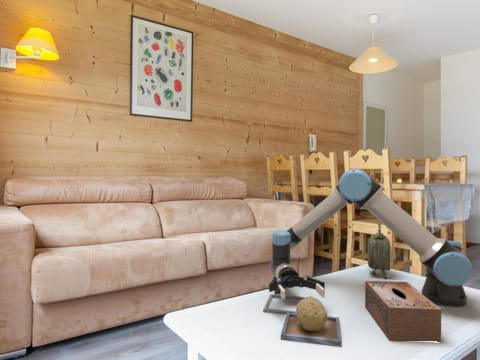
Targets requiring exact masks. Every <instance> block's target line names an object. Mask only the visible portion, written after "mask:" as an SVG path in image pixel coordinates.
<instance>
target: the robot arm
mask: <svg viewBox="0 0 480 360" xmlns="http://www.w3.org/2000/svg"><path fill="white" fill-rule="evenodd" d="M352 204H354V205H355V206H356V207H357V208H358V209H359V210H365V211H368V212H369V213H370V214H371V215H373V216H374V217H375V218H376V219H377V220H378V221H379V222H380V223H382V224H383V225H384V226H385V227H386V228H387V229H389V230H390V231H391V232H392V233H393V234H394V235H396V236H397V237H398V238H399V239H400V240H401V241H402V242H403V243H405V244H406V245H407V246H408V247H409V248H411V249H412V251H414V252H415V253H416V254H417V255H418V256H419V263H421V264H422V265H423V266H424V267H426V278H425V281H424V284H423V286H422V289H421V294H422V295H424V296H425V297H426V298H428V299H429V300H430V301H431V302H433V303H434V304H435V305H441V306H448V307H462V306H466V305H467V303H468V301H467V299H468V298H467V294H466V291H465V288H464V284H466V283H468V281H469V280H470V279H471V278H472V276H473V271H474V270H473V265H472V263H471V259H469V257H467V256H466V255H464V254H463V244H462V242H461V241H457V240H449V239H448V240H447V239H446V238H439V237H436V236H435V235H434V234H433V233H432V232H430V231H429V230H428V229H427V228H426V227H424V226H423V225H422V224H421V223H419V221H417V220H416V219H415V218H413V216H412V215H410V214H409V213H407V211H406V210H404V209H403V208H402V207H400V205H398V204H397V203H396V202H395V201H393V200H392V199H391V198H390V197H388V196H387V195H386V194H385V193H384V191H383V186H382V185H380V183H379V182H377V181H376V180H375V179H374V178H373V177H371V176H370V174H369V173H368V172H366V171H365V170H362V169H359V168H352V169H348V170H347V171H345V172H344V173H343V174H342V176H340V178H339V181H338V185H336V186H335V188H334V191H333V192H331V193H330V194H329V195H328V196H327V197H326V198H324V200H322V201H321V202H320V203H319V204H318V205H316V206H315V207H314V208H312V209H311V210H310V211H309V212H307V214H305V215H304V216H303V217H302V218H301V219H299V220H298V221H297V222H296V223H294V225H292V226H291V227H290V228H289V229H287V230H276V231H274V232H273V233H272V237H271V244H272V246H271V247H272V249H271V250H272V251H271V252H272V253H271V255H272V257H271V258H272V259H271V262H270V265H269V268H270V271H271V273H272V274H273V277H272V278H273V279H272V281H270V283H268V292H269V293H271V292H273V291H274V293H273V294H275V295H280V296H281V297H282V298H281V299H282V300H286V299H285V295H286V290H285V289H291V288H294V287H298V288H306V289H307V288H308V289H311V290H315V292H316V294H318V295H319V296H321V298H322V299H323V298H325V297H326V295H325V294H326V291H325V290H326V289H325V287H326V286H325V285H326V284H325V281H321V280H319V279H316V278H312V277H310V276H309V275H305V277H303V276H300V275H299V273H298V272H297V270H296V269H294V267H293V266H291V250H292V249H293V248H295V247H297V246H298V245H299V244H300V243H301V242H302V241H303V240H304V239H305V238H307V237H309V236H310V235H311V234H312V233H313V232H315V231H316V230H317V229H318V228H320V227H321V226H322V225H323V224H325V223H326V222H327V221H328V220H329V219H331V218H332V217H333V216H335V215H336V214H337V213H339V211H341V210H343V208H344V207H345V206H347V205H352Z"/></svg>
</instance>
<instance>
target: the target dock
mask: <svg viewBox="0 0 480 360" xmlns="http://www.w3.org/2000/svg"><path fill="white" fill-rule="evenodd" d="M280 340H282V341H283V340H284V341H293V342H300V343H307V344H315V345H316V344H317V345H325V346H326V345H327V346H333V347H340V348H341V347H342V336H341V325H340V317H339V316H337V317H336V316H328V315H327V319H326V323H325V324H324V327H323V328H322V329H320V331H307V330H305V329H304V328H303V326H302V325H301V324H300V321H299V319H298V317H297V314H296V313H289V312H287V315H286V314H285V318H284V322H283V325H282V329H281V333H280Z"/></svg>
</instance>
